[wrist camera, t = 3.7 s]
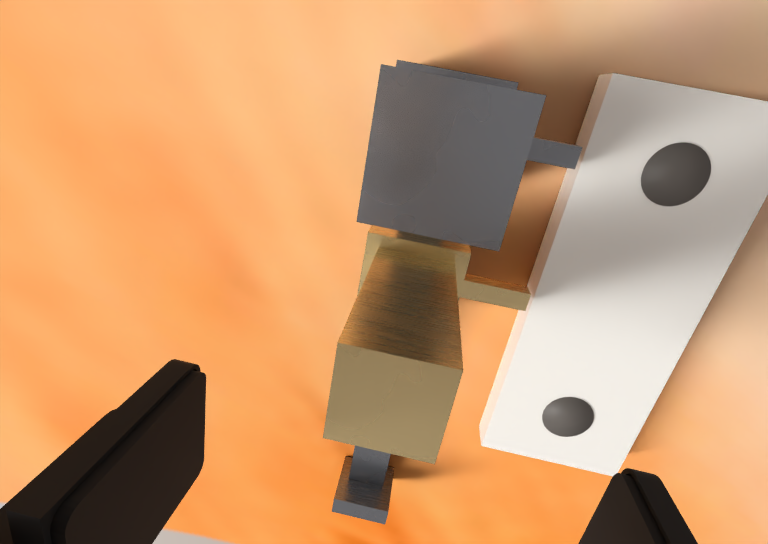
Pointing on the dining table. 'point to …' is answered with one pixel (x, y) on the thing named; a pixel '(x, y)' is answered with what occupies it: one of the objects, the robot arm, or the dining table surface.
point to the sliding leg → (406, 343)
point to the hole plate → (626, 267)
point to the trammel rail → (441, 191)
